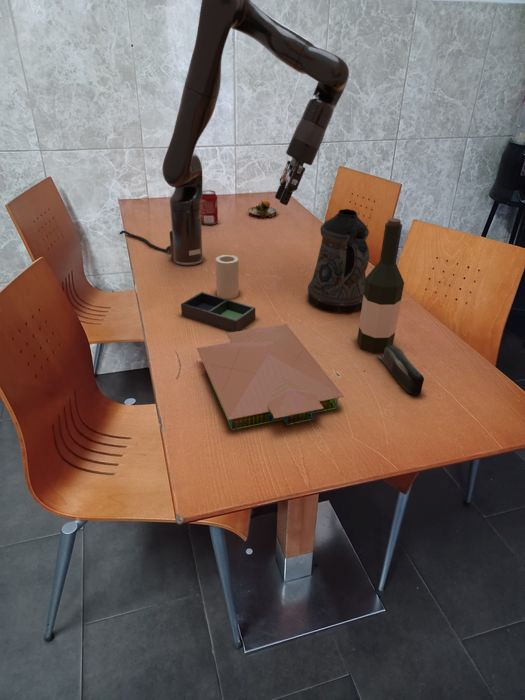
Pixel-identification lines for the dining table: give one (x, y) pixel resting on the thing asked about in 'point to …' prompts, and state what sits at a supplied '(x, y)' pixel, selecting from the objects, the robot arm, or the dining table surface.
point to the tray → (218, 312)
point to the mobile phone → (403, 370)
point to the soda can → (209, 207)
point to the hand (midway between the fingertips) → (280, 201)
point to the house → (266, 375)
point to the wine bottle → (382, 295)
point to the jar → (227, 276)
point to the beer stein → (341, 264)
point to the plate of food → (263, 209)
